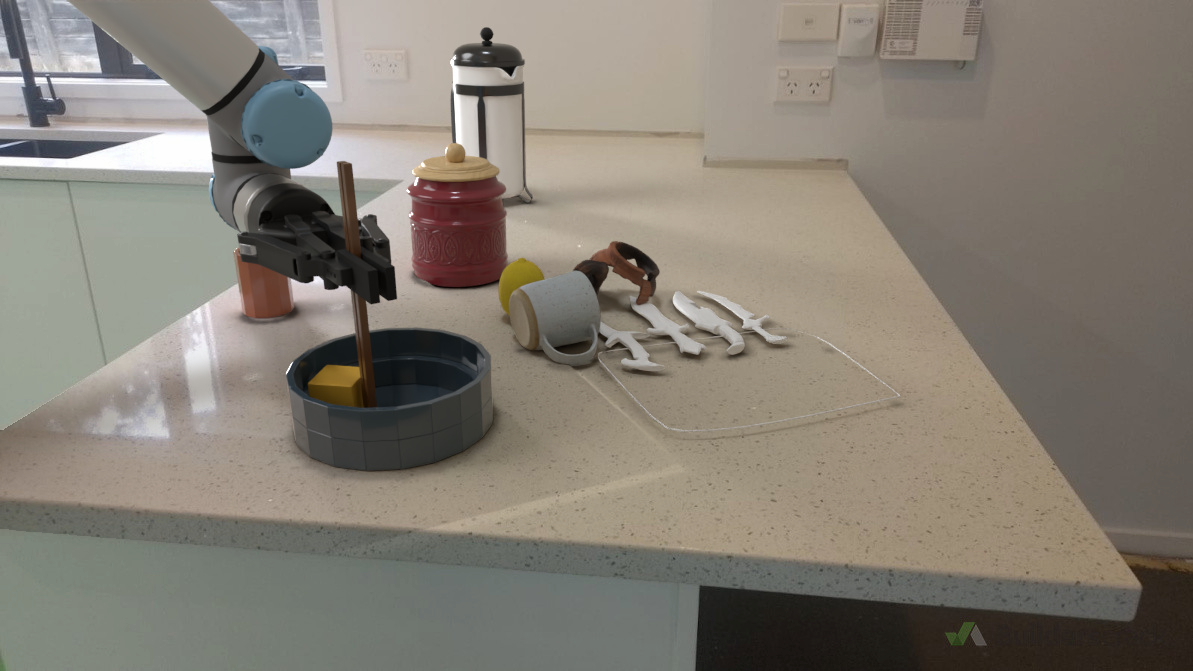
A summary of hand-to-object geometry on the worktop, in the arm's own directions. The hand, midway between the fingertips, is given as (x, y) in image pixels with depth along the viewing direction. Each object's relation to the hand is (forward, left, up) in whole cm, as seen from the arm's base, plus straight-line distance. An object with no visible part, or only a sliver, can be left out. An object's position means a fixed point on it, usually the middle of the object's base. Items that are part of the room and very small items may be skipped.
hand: (382, 285), depth 65 cm
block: (-5, +6, -14) cm, 16 cm away
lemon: (+11, +29, -15) cm, 34 cm away
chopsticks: (-3, +5, -13) cm, 14 cm away
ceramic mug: (+15, +21, -15) cm, 30 cm away
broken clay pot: (+22, +35, -15) cm, 44 cm away
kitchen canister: (+3, +48, -15) cm, 50 cm away
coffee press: (+6, +91, -15) cm, 92 cm away
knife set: (+31, +19, -15) cm, 40 cm away
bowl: (-1, +5, -15) cm, 16 cm away
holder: (-19, +34, -15) cm, 41 cm away
